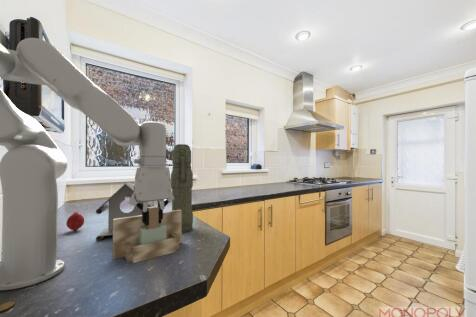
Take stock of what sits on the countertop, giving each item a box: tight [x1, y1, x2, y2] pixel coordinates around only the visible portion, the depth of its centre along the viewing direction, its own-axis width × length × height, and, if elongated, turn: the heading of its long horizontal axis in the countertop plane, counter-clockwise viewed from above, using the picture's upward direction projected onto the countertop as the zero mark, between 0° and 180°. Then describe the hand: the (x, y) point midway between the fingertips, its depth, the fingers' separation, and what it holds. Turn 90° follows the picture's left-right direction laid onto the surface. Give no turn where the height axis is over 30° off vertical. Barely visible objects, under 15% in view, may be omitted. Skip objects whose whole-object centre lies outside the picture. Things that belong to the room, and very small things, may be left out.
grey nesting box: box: [95, 181, 153, 242], centre depth 81 cm, size 18×10×20 cm, turn 109°
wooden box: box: [112, 210, 182, 264], centre depth 63 cm, size 20×8×11 cm, turn 127°
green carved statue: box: [170, 143, 194, 233], centre depth 86 cm, size 9×12×35 cm
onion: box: [66, 210, 85, 232], centre depth 85 cm, size 6×6×8 cm
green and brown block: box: [139, 205, 166, 245], centre depth 63 cm, size 7×4×12 cm, turn 127°
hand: (152, 222), depth 63 cm, fingers closed on green and brown block, 3 cm apart
